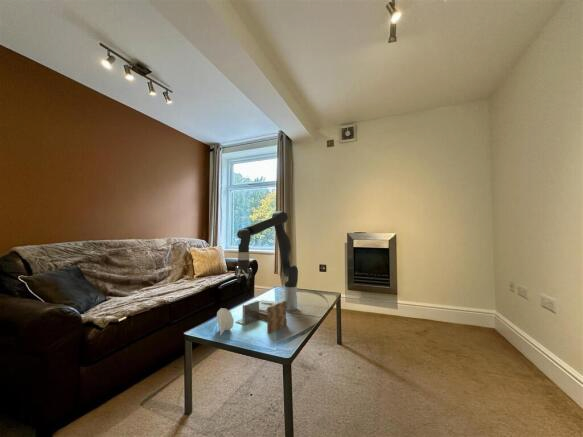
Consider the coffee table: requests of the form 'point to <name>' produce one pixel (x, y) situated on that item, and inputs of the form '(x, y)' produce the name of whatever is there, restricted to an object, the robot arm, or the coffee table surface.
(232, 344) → the coffee table surface
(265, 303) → the skincare box
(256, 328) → the coffee table surface
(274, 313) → the end panel
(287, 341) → the coffee table surface
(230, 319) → the white faceted rounded block
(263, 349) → the coffee table surface
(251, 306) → the bookend
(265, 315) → the shelf rail
